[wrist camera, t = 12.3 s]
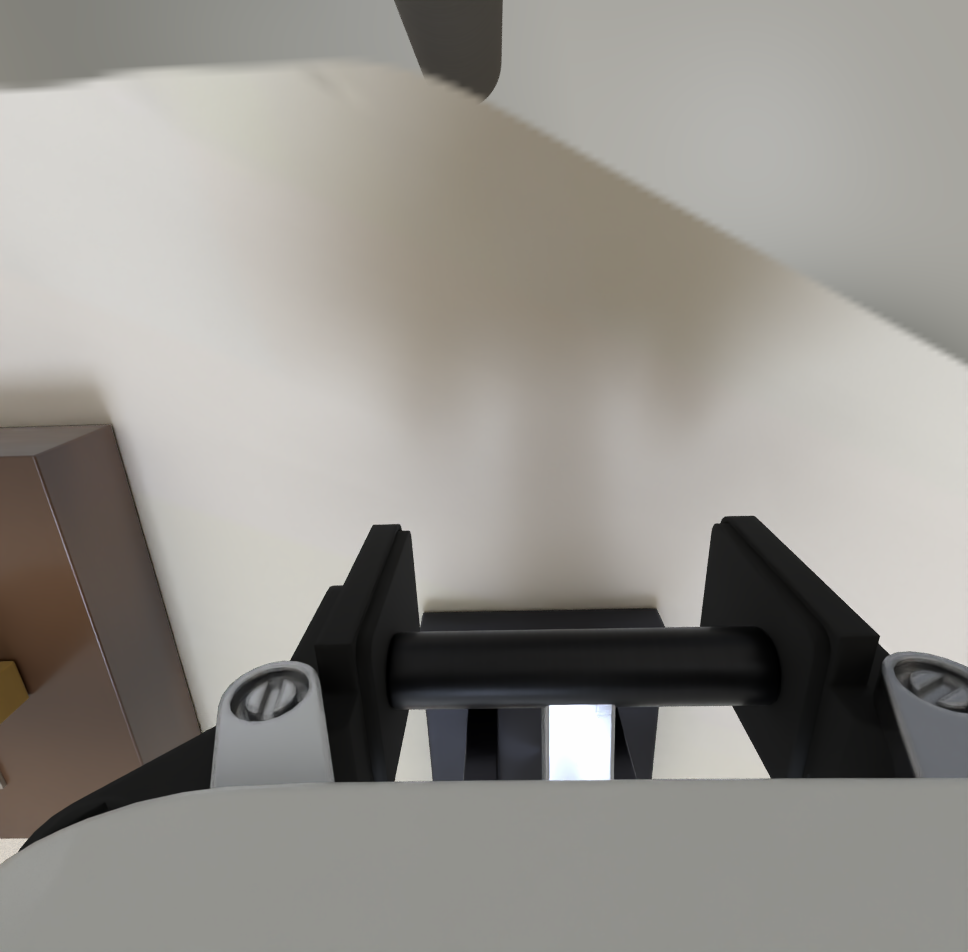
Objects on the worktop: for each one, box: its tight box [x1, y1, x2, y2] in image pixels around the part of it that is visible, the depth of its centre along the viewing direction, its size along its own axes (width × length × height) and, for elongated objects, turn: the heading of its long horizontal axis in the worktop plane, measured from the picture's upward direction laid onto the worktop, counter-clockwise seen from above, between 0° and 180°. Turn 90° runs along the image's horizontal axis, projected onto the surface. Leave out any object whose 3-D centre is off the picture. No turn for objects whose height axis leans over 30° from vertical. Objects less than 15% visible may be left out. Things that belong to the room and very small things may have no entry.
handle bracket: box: [420, 609, 665, 781], centre depth 15 cm, size 10×8×12 cm
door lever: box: [386, 626, 781, 780], centre depth 10 cm, size 12×6×2 cm, turn 2°
